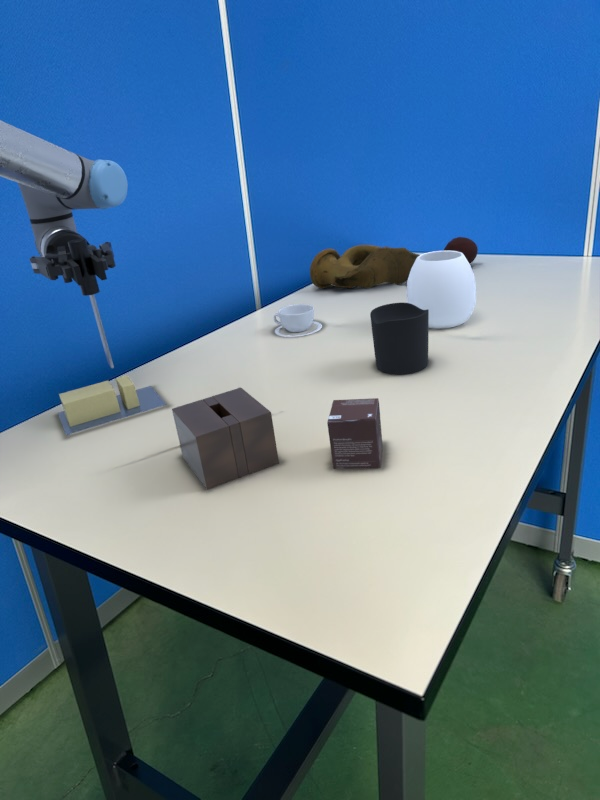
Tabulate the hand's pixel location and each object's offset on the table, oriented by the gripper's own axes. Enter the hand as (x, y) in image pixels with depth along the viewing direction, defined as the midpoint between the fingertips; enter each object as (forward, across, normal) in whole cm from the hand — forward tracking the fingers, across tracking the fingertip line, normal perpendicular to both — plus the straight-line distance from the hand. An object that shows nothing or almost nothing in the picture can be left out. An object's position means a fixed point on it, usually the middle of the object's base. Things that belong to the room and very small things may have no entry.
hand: (90, 273), depth 89 cm
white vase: (-2, -63, -25) cm, 68 cm away
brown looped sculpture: (-36, -68, -25) cm, 81 cm away
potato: (-33, -94, -25) cm, 103 cm away
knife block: (+23, -8, -24) cm, 34 cm away
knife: (-5, 0, -16) cm, 17 cm away
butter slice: (-5, -2, -23) cm, 24 cm away
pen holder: (+12, -44, -24) cm, 52 cm away
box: (+33, -22, -24) cm, 46 cm away
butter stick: (-5, +5, -23) cm, 24 cm away
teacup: (-20, -40, -25) cm, 51 cm away
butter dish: (-5, +2, -24) cm, 25 cm away
